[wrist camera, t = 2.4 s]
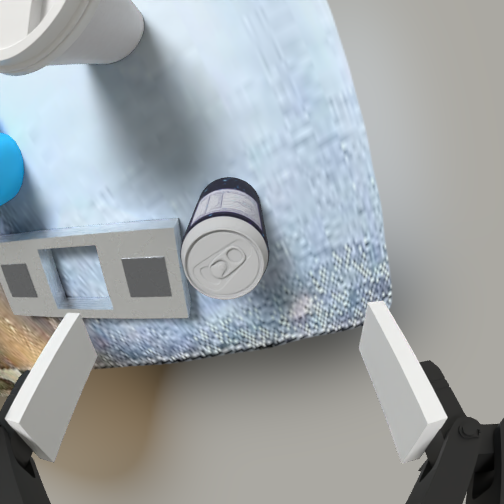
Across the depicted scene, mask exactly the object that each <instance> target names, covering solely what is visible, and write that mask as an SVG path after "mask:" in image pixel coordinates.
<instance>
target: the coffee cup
mask: <svg viewBox="0 0 504 504" xmlns="http://www.w3.org/2000/svg"><path fill="white" fill-rule="evenodd" d="M143 30H144V21H143V17H142V15H141V13H140V11H139V10H138V8H137V7H136V6H135V5H134V3H133V2H132V1H131V0H0V73H3V74H6V75H11V76H19V75H25V74H29V73H32V72H35V71H37V70H39V69H41V68H43V67H45V66H49V65H67V64H110V63H114V62H117V61H119V60H121V59H123V58H125V57H126V56H128V55H129V54H130V53H131V52H132V51H133V50H134V49H135V48H136V46H137V45H138V43H139V42H140V40H141V37H142V34H143Z"/></svg>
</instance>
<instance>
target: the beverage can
mask: <svg viewBox="0 0 504 504" xmlns="http://www.w3.org/2000/svg"><path fill="white" fill-rule="evenodd" d="M180 257H181V263H182V266H183V268H184V271H185V275H186V277H187V279H188V280H189V282H190V283H191V285H192V286H193V287H194V288H195V289H196V290H198V291H199V292H200V293H202V294H204V295H206V296H208V297H211V298H215V299H222V300H226V299H235V298H238V297H241V296H243V295H245V294H247V293H249V292H250V291H251V290H252V289H254V288H255V287H256V285H257V284H258V283H259V281H260V279H261V277H262V276H263V274H264V272H265V270H266V268H267V265H268V261H269V248H268V242H267V237H266V232H265V226H264V221H263V215H262V210H261V205H260V200H259V197H258V195H257V193H256V191H255V190H254V188H253V187H252V186H251V185H249V184H248V183H247V182H245V181H243V180H241V179H238V178H232V177H227V178H221V179H218V180H215V181H213V182H212V183H210V184H209V185H208V186H207V187H206V188H205V189H204V190H203V192H202V193H201V196H200V198H199V200H198V203H197V205H196V208H195V210H194V213H193V215H192V218H191V220H190V223H189V225H188V228H187V230H186V233H185V235H184V238H183V240H182V244H181V249H180Z"/></svg>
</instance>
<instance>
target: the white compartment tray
mask: <svg viewBox="0 0 504 504" xmlns="http://www.w3.org/2000/svg"><path fill="white" fill-rule="evenodd" d="M181 244H182V241H181V234H180V226H179V219H178V218H171V219H157V220H145V221H132V222H121V223H109V224H99V225H88V226H78V227H68V228H59V229H49V230H40V231H32V232H23V233H15V234H7V235H0V282H1V285H2V287H3V290H4V292H5V294H6V297H7V299H8V302H9V304H10V306H11V309H12V311H13V313H14V315H26V316H45V317H65V315H66V314H67V313H80V314H81V317H82V318H120V319H152V318H189V313H190V309H191V299H190V293H189V287H188V280H187V277H186V275H185V271H184V268H183V266H182V263H181V257H180V249H181ZM91 245H96V249H97V253H98V257H99V261H100V265H101V268H102V272H103V276H104V279H105V283H106V286H107V290H108V293H109V296H110V297H66V295H65V292H64V289H63V286H62V283H61V280H60V277H59V274H58V271H57V268H56V265H55V262H54V259H53V255H52V252H51V248H64V247H77V246H91Z"/></svg>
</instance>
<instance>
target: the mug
mask: <svg viewBox="0 0 504 504" xmlns="http://www.w3.org/2000/svg"><path fill="white" fill-rule="evenodd" d="M23 176H24V164H23V158H22V155H21V151H20V149H19V147H18V145H17V144H16V142H15V141H14V140H13V139H12V138H11V137H10V136H9V135H6V134H4V133H0V206H1V205H3V204H4V203H6V202H8V201H9V200H11V199H13V198H14V197H15V196H16V194H17V193H18V192H19V190H20V187H21V185H22V182H23Z"/></svg>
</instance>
